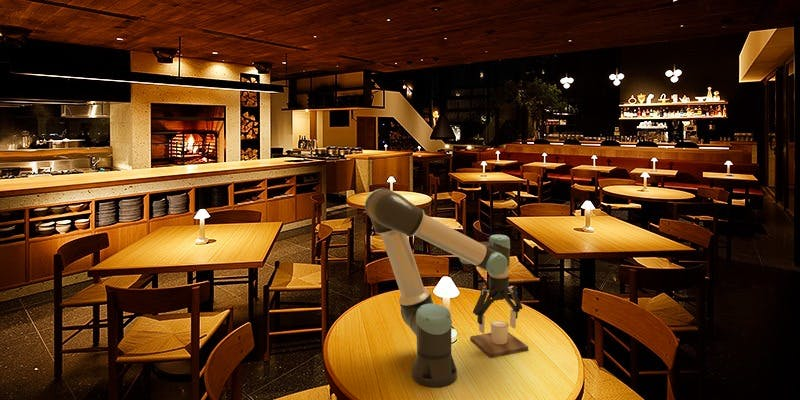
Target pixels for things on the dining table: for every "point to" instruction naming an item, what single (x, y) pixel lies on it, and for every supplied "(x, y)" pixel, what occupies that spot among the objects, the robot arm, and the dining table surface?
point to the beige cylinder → (499, 332)
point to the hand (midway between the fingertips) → (497, 329)
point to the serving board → (498, 345)
